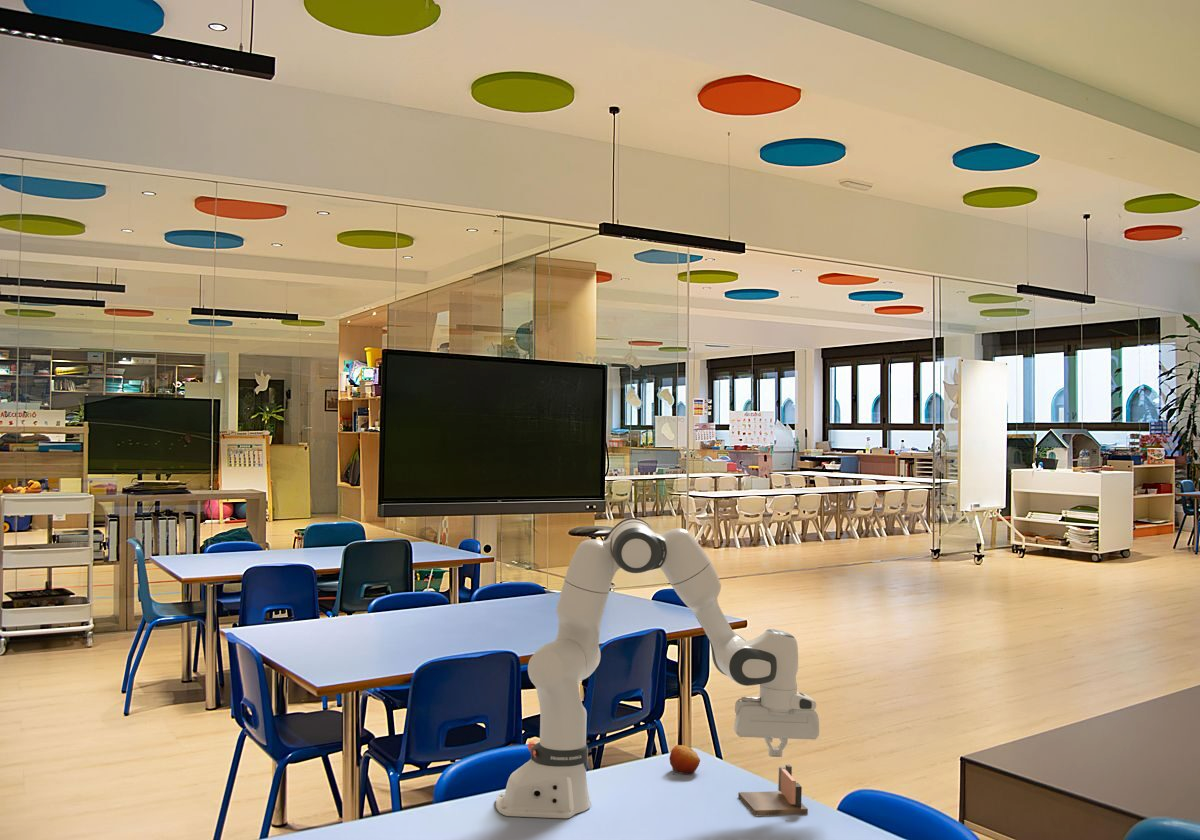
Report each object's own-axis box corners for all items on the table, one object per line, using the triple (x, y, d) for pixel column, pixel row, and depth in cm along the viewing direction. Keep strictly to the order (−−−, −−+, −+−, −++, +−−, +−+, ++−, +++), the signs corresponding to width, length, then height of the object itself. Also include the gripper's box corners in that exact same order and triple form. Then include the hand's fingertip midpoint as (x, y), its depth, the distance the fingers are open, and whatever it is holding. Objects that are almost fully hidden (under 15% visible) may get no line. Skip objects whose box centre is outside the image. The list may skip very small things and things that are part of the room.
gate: (796, 804, 227) (797, 780, 228) (789, 804, 227) (790, 780, 228) (783, 789, 238) (784, 766, 238) (777, 789, 238) (778, 766, 238)
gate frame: (755, 815, 225) (755, 780, 225) (738, 797, 237) (739, 764, 237) (807, 814, 227) (808, 779, 227) (788, 795, 239) (789, 763, 240)
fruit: (660, 762, 259) (675, 736, 260) (684, 777, 259) (699, 751, 260) (665, 771, 251) (681, 745, 252) (690, 787, 251) (706, 760, 252)
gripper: (738, 699, 228) (735, 758, 227) (822, 702, 229) (820, 761, 229) (732, 693, 234) (730, 750, 233) (814, 696, 235) (812, 753, 235)
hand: (775, 756), depth 231 cm, fingers closed
